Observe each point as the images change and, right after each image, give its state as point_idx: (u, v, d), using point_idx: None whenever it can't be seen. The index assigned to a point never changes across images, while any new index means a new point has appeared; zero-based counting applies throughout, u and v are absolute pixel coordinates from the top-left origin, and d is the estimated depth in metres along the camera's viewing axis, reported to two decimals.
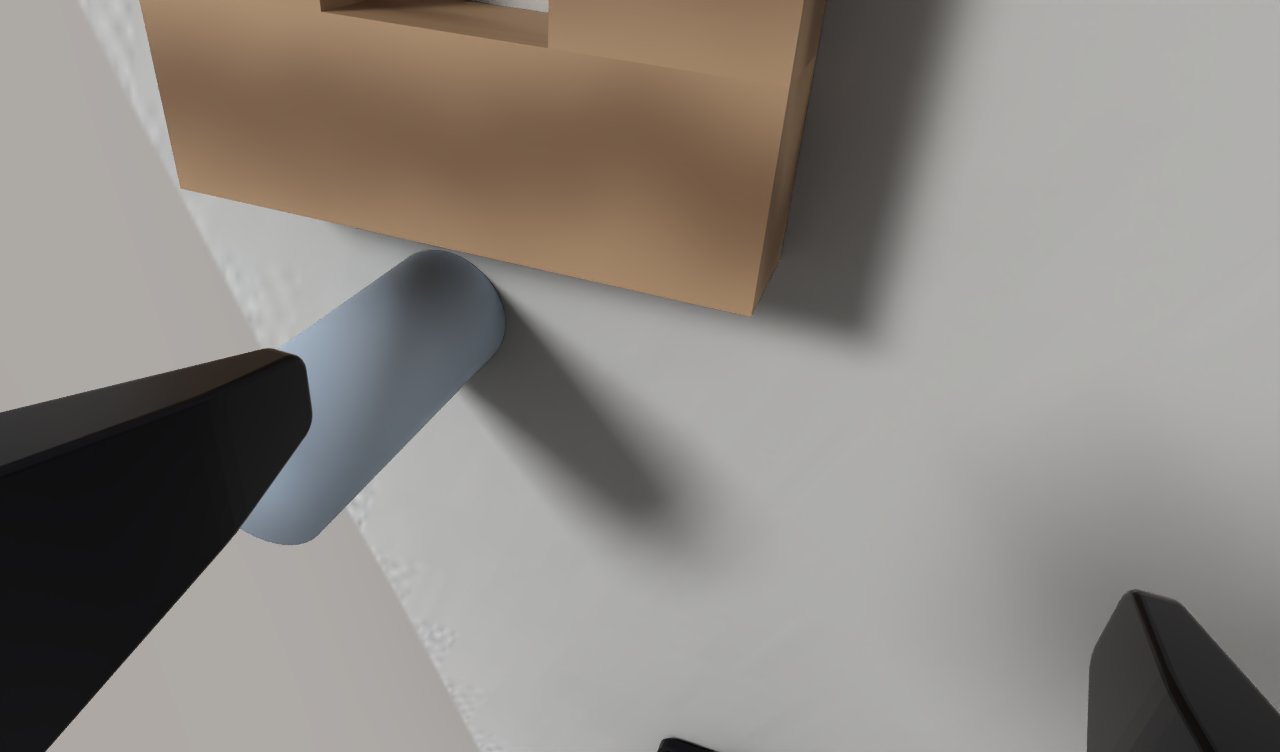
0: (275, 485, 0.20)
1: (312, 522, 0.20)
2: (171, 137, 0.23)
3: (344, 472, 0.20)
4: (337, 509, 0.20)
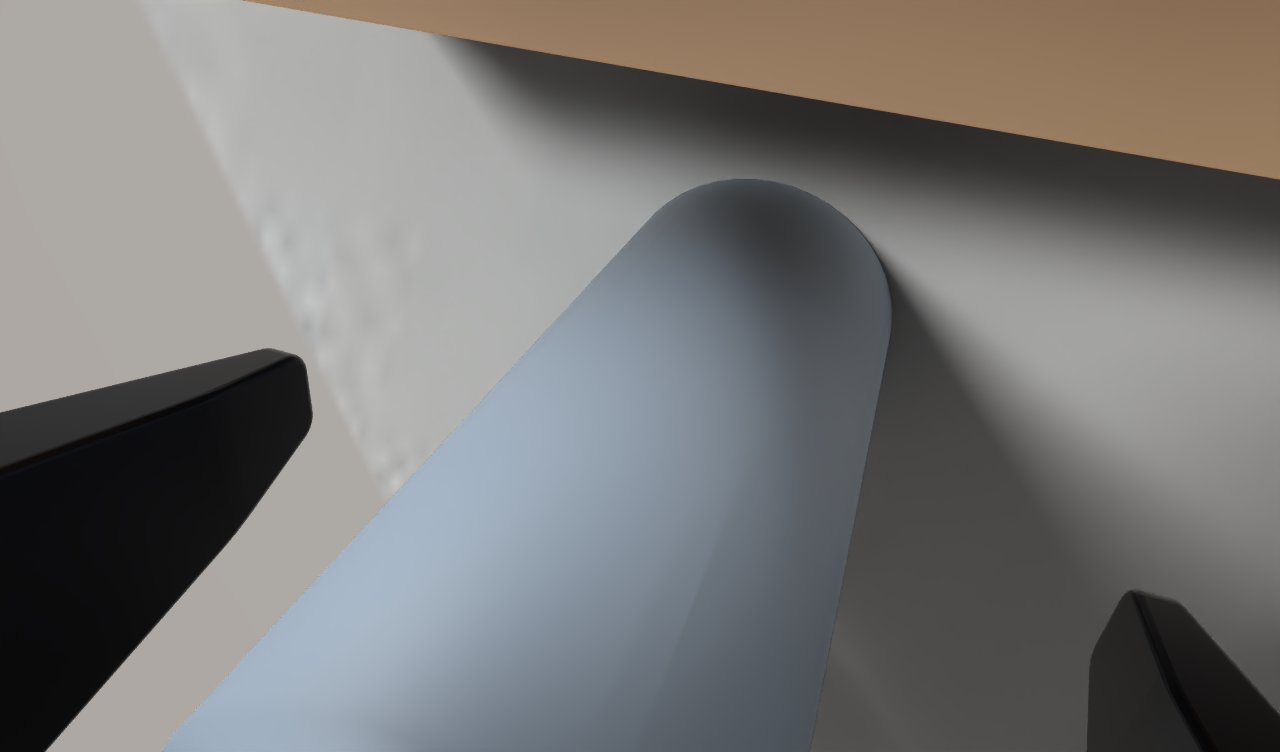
0: None
1: None
2: None
3: None
4: None
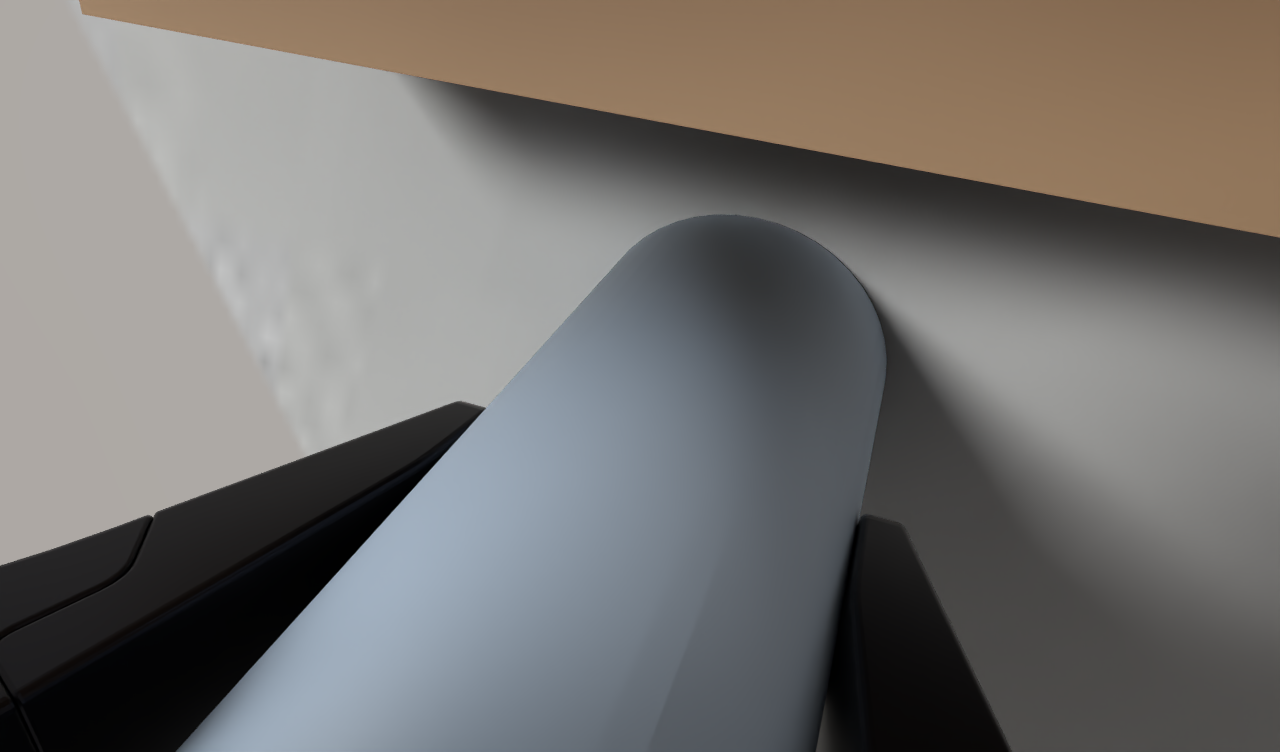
0: None
1: None
2: None
3: None
4: None
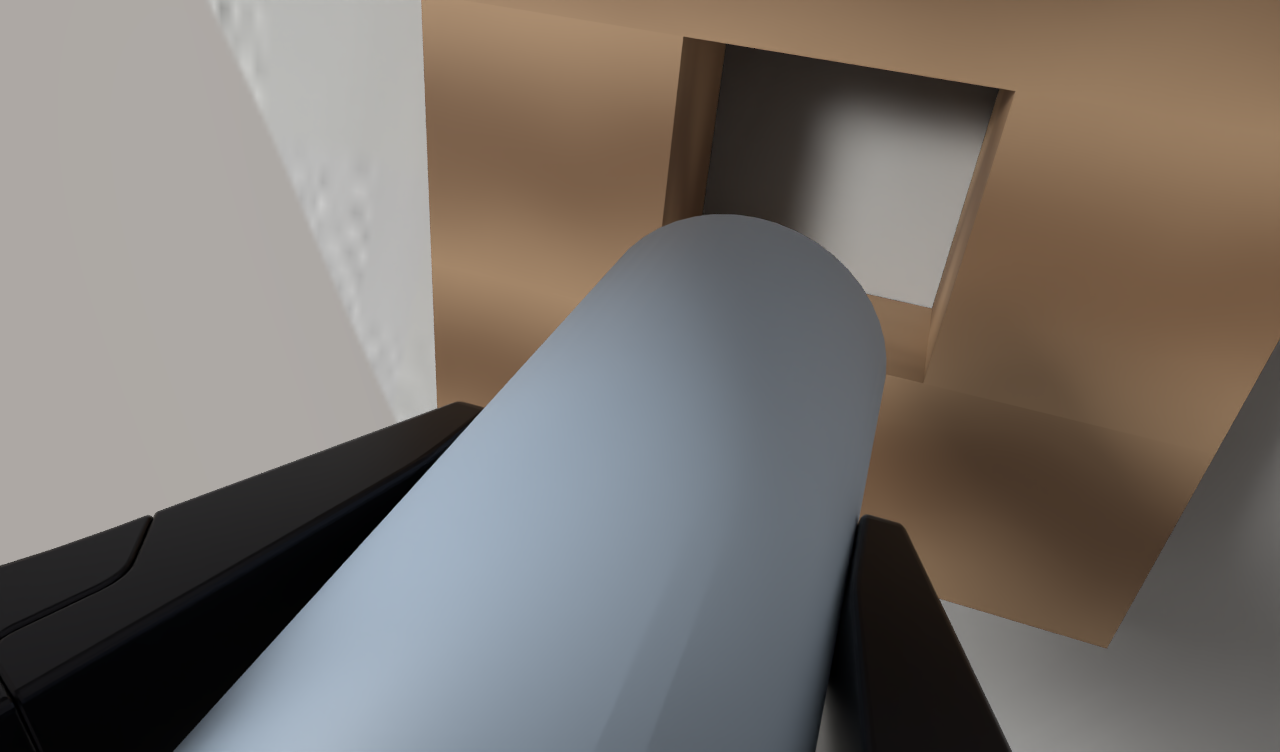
0: None
1: None
2: (439, 403, 0.21)
3: None
4: None
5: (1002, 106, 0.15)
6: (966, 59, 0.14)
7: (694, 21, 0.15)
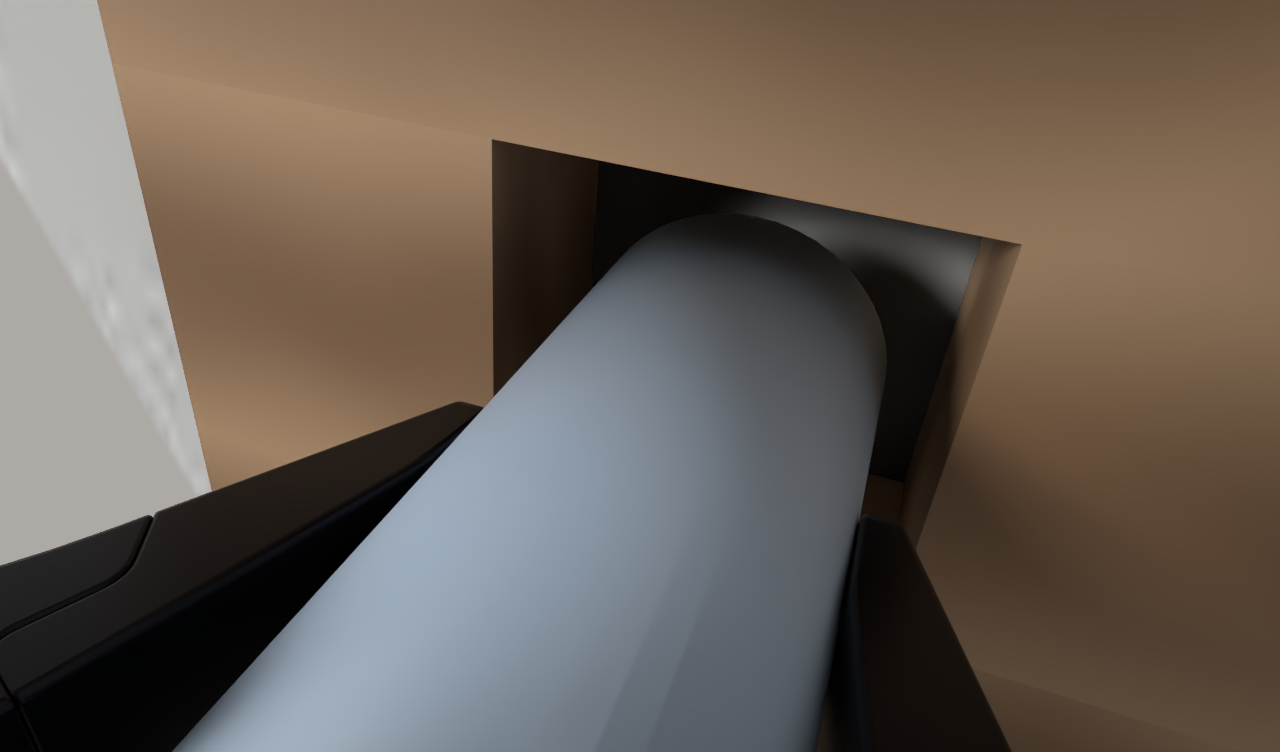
0: None
1: None
2: None
3: None
4: None
5: (1000, 242, 0.10)
6: (939, 191, 0.08)
7: (505, 117, 0.09)
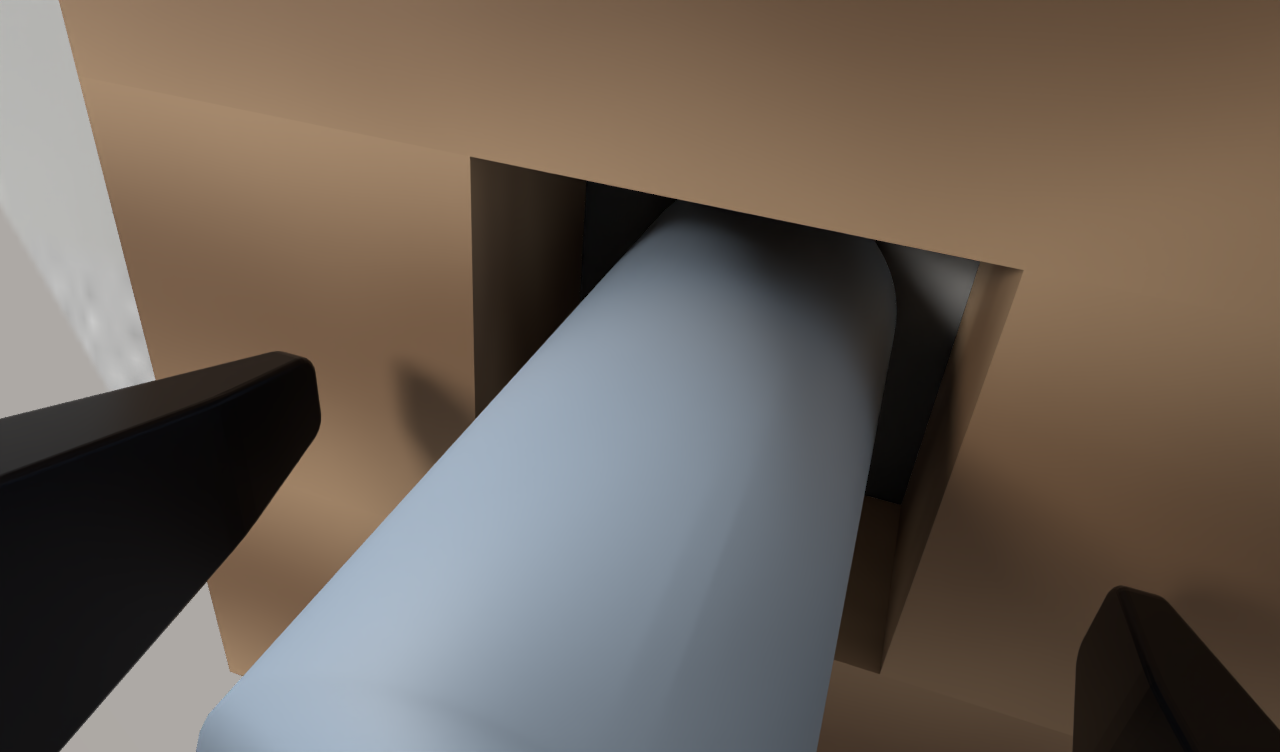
0: None
1: None
2: (219, 619, 0.15)
3: None
4: None
5: None
6: (936, 214, 0.08)
7: (484, 133, 0.09)
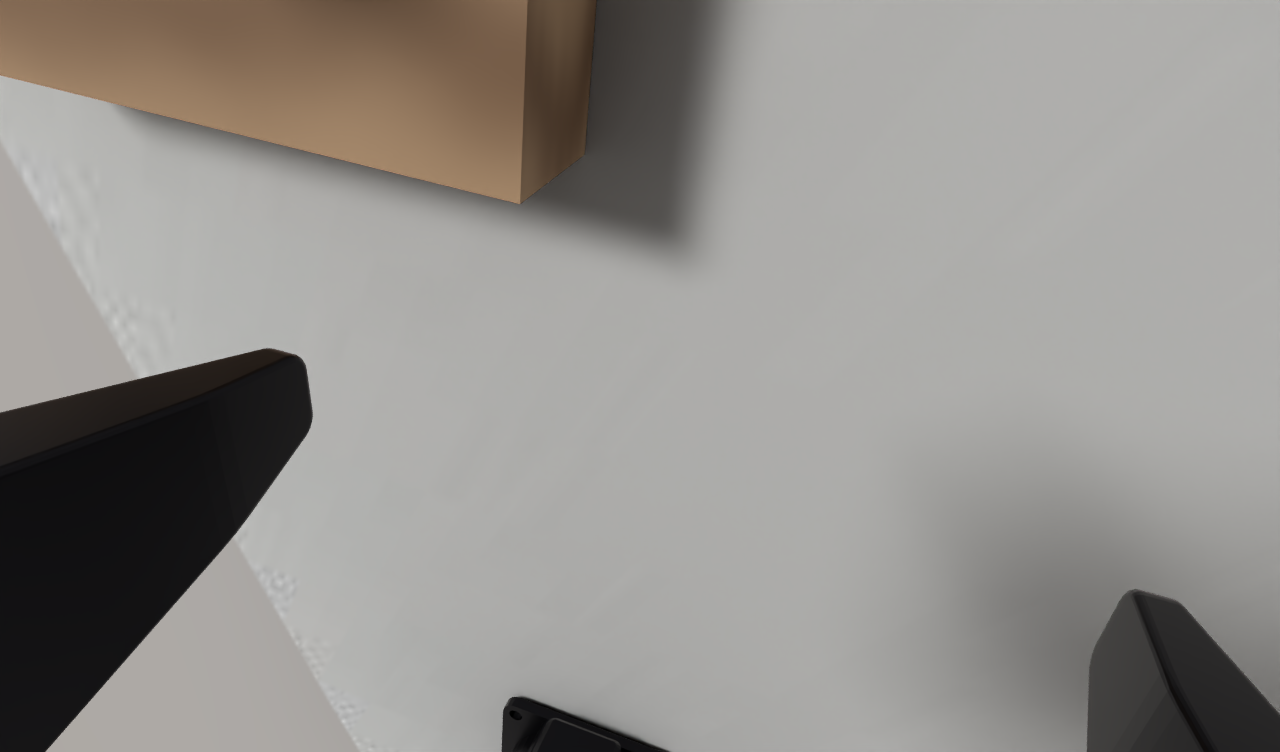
0: None
1: None
2: None
3: None
4: None
5: None
6: None
7: None
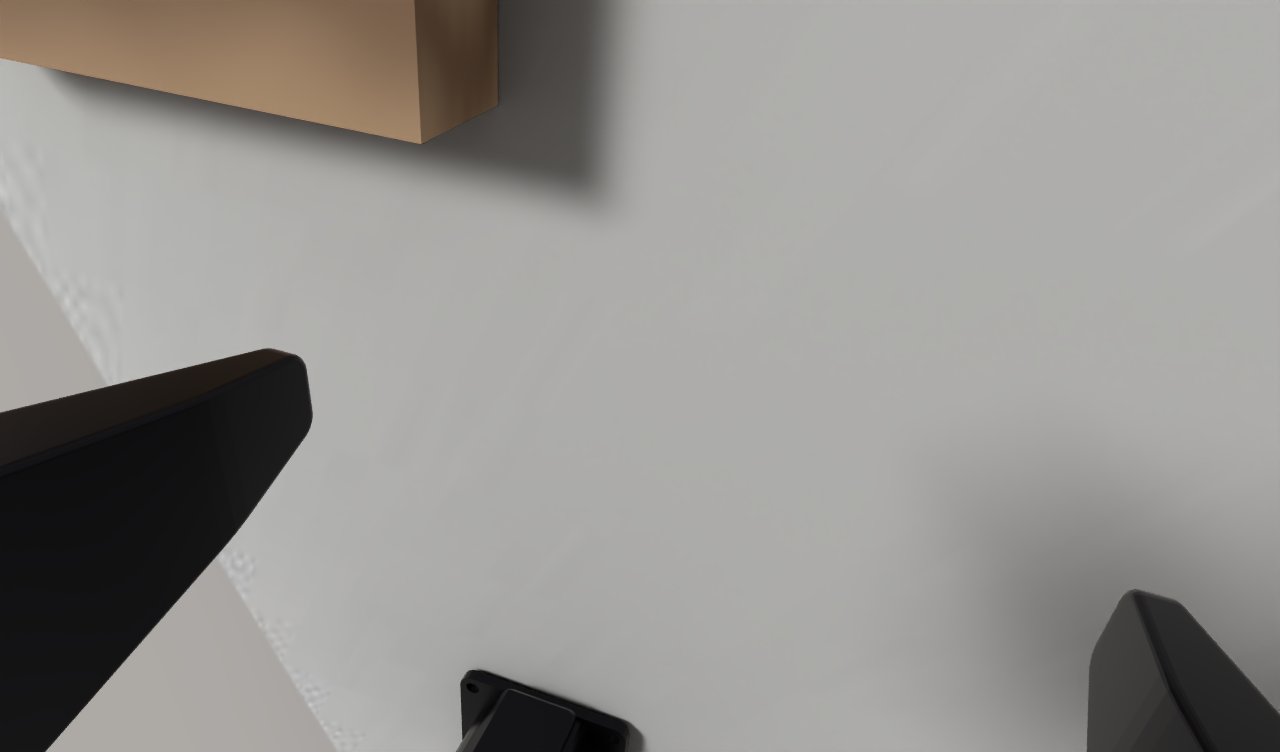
0: None
1: None
2: None
3: None
4: None
5: None
6: None
7: None
